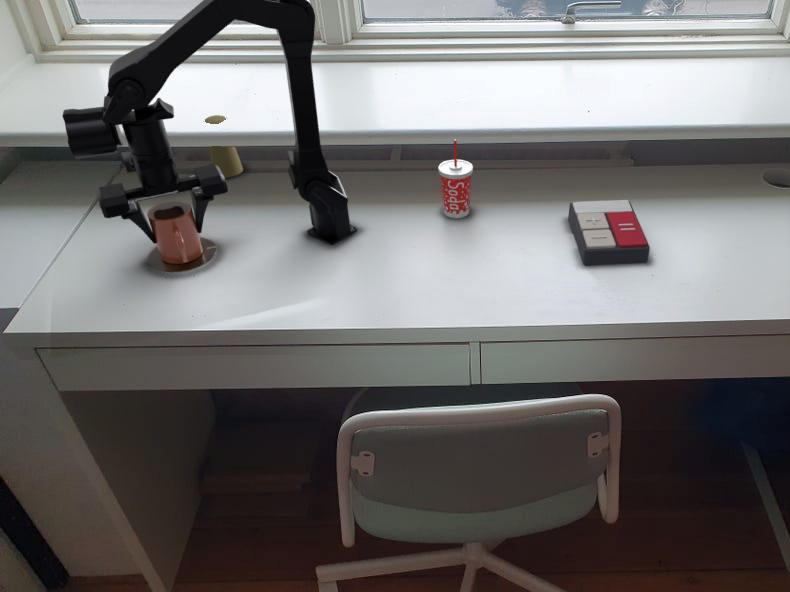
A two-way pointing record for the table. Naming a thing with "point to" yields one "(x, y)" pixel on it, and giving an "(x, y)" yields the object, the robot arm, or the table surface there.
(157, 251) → the coaster
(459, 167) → the beverage cup
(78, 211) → the table surface
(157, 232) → the mug
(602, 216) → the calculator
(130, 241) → the table surface
